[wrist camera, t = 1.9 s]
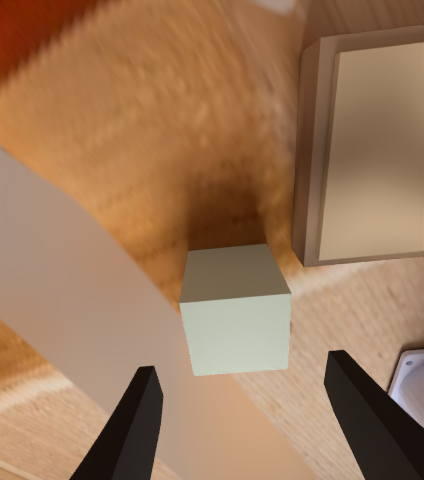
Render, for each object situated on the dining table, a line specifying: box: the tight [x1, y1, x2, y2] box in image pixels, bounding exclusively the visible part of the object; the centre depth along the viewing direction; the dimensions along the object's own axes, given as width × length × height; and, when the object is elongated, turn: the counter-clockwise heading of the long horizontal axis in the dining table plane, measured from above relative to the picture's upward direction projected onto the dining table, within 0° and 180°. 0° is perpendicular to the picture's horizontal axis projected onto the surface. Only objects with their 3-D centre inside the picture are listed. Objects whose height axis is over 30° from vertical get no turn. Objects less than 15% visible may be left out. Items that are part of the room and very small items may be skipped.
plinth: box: [292, 25, 424, 267], centre depth 12 cm, size 10×8×3 cm
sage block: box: [179, 244, 292, 376], centre depth 14 cm, size 5×5×5 cm
